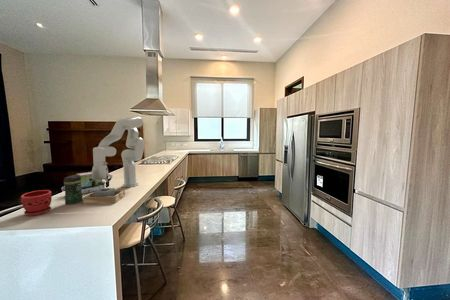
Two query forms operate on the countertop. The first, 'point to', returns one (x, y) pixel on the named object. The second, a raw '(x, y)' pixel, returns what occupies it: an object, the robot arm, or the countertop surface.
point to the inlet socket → (104, 192)
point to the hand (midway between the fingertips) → (100, 187)
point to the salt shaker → (101, 185)
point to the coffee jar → (73, 189)
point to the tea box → (87, 183)
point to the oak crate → (103, 198)
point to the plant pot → (36, 202)
